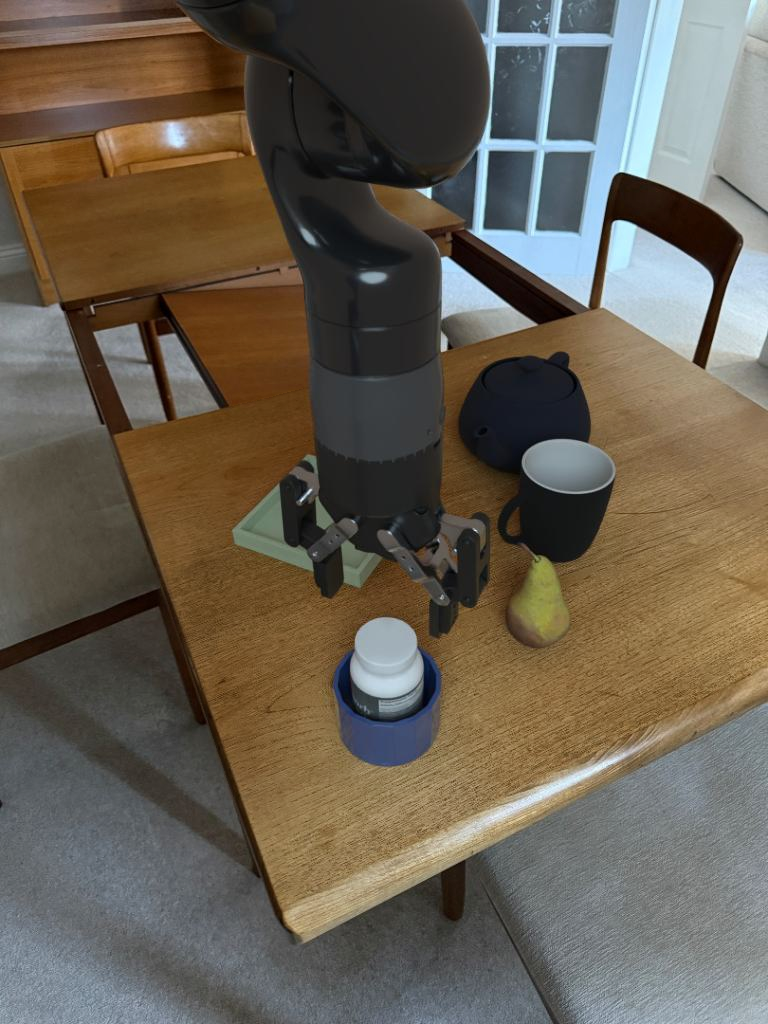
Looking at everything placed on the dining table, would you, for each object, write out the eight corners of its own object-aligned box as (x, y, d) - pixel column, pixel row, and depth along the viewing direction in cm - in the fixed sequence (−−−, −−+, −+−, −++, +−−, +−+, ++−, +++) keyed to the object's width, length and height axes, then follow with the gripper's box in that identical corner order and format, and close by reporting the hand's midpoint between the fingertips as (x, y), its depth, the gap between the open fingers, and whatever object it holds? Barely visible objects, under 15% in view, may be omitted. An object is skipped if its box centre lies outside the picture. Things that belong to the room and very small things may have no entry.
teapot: (503, 390, 102) (511, 306, 94) (614, 422, 95) (632, 334, 87) (410, 487, 86) (410, 395, 78) (536, 532, 79) (549, 436, 71)
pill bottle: (345, 701, 63) (337, 621, 56) (408, 681, 64) (408, 602, 58) (366, 758, 58) (361, 679, 52) (433, 736, 60) (436, 657, 53)
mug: (563, 505, 82) (576, 429, 76) (617, 554, 76) (636, 475, 70) (471, 540, 78) (476, 462, 72) (520, 594, 72) (531, 514, 66)
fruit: (553, 670, 65) (572, 572, 57) (493, 644, 67) (503, 547, 60) (575, 628, 69) (596, 531, 61) (518, 605, 71) (530, 509, 63)
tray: (360, 588, 73) (359, 574, 72) (234, 544, 79) (231, 530, 77) (424, 501, 84) (424, 487, 82) (309, 467, 89) (307, 453, 88)
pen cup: (412, 783, 57) (412, 743, 54) (319, 741, 60) (313, 700, 57) (455, 701, 63) (457, 660, 59) (367, 666, 66) (365, 625, 62)
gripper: (237, 421, 42) (272, 612, 53) (469, 486, 37) (457, 684, 48) (306, 362, 47) (325, 548, 58) (518, 412, 42) (498, 606, 53)
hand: (385, 609), depth 53 cm, fingers open, 8 cm apart
